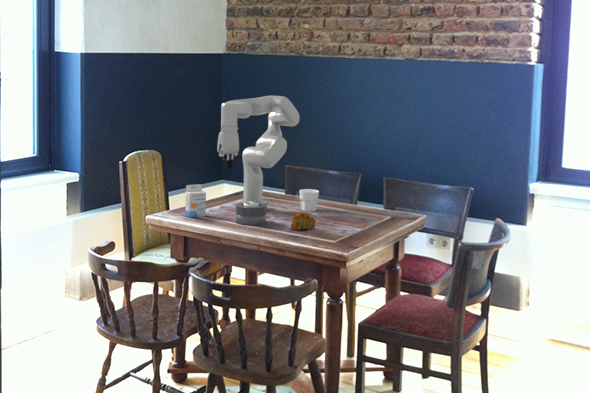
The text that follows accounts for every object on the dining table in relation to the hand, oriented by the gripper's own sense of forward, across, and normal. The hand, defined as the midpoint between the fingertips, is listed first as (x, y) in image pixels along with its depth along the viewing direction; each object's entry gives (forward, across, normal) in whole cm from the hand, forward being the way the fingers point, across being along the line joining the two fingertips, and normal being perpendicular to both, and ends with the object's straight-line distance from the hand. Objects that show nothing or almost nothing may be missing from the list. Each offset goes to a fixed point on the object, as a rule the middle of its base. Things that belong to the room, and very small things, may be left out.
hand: (228, 168), depth 311 cm
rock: (+24, -10, +40) cm, 48 cm away
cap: (+19, -1, +16) cm, 25 cm away
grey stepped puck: (+23, 0, +16) cm, 28 cm away
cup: (+23, -43, +13) cm, 51 cm away
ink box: (+23, +12, -9) cm, 28 cm away
